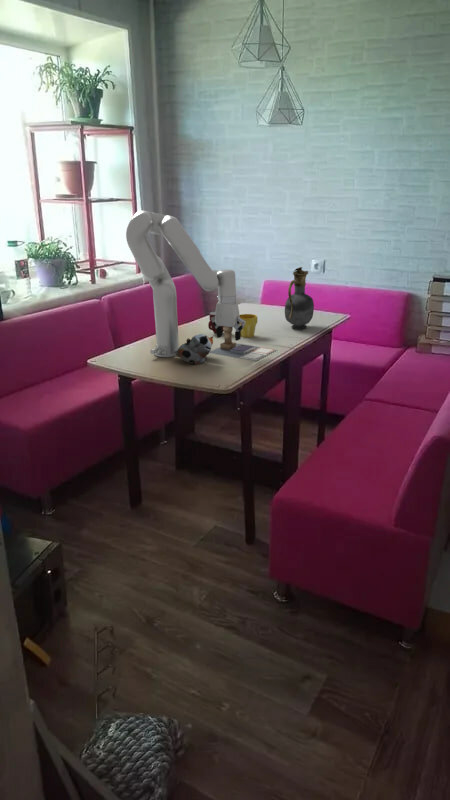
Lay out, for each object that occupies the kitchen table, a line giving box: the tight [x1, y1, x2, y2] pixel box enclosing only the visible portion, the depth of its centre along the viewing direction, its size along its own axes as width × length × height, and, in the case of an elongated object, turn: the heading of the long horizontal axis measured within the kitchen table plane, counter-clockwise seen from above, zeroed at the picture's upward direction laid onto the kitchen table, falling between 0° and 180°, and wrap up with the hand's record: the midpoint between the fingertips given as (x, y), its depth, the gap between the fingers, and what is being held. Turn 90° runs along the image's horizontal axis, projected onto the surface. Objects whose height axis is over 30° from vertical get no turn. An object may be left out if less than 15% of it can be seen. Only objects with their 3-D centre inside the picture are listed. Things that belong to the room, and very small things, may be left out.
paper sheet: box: [239, 346, 277, 361], centre depth 252 cm, size 17×8×1 cm, turn 146°
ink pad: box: [230, 343, 255, 355], centre depth 256 cm, size 9×7×2 cm
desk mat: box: [209, 342, 277, 363], centre depth 256 cm, size 18×24×1 cm
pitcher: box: [284, 266, 315, 331], centre depth 286 cm, size 11×19×30 cm, turn 147°
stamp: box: [219, 327, 237, 351], centre depth 258 cm, size 5×5×11 cm
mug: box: [208, 310, 224, 335], centre depth 284 cm, size 10×8×10 cm
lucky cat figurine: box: [174, 333, 214, 366], centre depth 245 cm, size 15×12×14 cm
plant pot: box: [239, 313, 258, 339], centre depth 279 cm, size 10×10×10 cm
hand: (228, 338), depth 258 cm, fingers open, 9 cm apart
